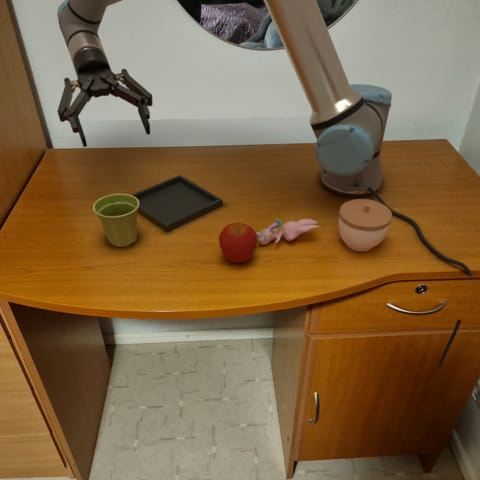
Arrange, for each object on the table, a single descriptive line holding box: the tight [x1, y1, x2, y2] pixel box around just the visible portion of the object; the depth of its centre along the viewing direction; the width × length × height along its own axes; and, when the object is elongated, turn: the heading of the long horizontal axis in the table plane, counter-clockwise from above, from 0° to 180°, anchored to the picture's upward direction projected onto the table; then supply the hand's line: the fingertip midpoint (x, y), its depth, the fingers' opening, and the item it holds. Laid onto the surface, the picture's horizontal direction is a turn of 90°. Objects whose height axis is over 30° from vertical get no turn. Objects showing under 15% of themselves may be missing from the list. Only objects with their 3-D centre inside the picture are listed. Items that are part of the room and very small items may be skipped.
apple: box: [218, 222, 258, 264], centre depth 98 cm, size 8×8×8 cm
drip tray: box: [131, 174, 224, 233], centre depth 115 cm, size 17×17×2 cm
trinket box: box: [337, 198, 393, 252], centre depth 101 cm, size 11×11×9 cm
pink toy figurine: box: [255, 218, 321, 246], centre depth 104 cm, size 6×6×15 cm
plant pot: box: [92, 193, 139, 248], centre depth 102 cm, size 9×9×9 cm
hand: (116, 136), depth 101 cm, fingers open, 13 cm apart
